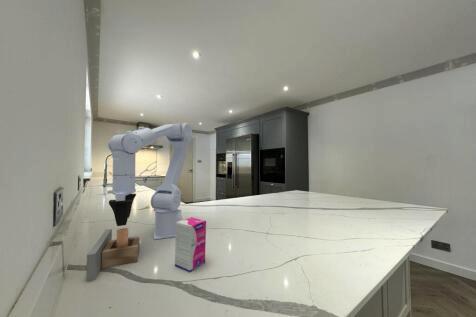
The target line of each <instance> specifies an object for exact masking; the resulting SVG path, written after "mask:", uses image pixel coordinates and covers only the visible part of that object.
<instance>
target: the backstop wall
mask: <svg viewBox="0 0 476 317" xmlns="http://www.w3.org/2000/svg"><path fill="white" fill-rule="evenodd" d="M110 240H113V228H107V229H105V230H104V231H103V233H102V234H100V237H99V238H98V239H97V240H96V242H95V243H94V245H93V246H92V247H91V249H90V251H88V252H87V254H86V279H85V280H86V281H85V282H91V281H92V282H93V281H96V279H97V277H98V275H99V273H100V271H101V269H102V252H103V250H104V248H105V247H106V245H107V243H108V241H110Z"/></svg>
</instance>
